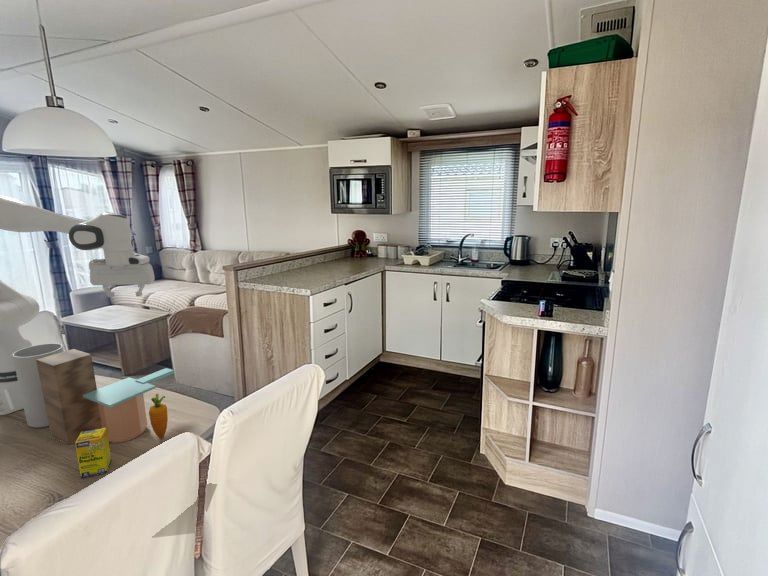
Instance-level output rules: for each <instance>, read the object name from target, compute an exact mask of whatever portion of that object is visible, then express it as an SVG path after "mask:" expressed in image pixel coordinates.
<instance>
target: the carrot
mask: <svg viewBox="0 0 768 576" xmlns="http://www.w3.org/2000/svg"><path fill="white" fill-rule="evenodd" d="M159 398H160V399H159ZM165 398H166V395H163V396H162V397H159V393H156V394H155V396H154V397H152V398H151V401H152V402H153V404H154V405H152V406H151V407H150V408H149V410H148V415H149V420H150V421H149V422H150V425H151V428H152V430H153V433H155V435H156V437H158V438H159V439H161V440H163V439H164V438H165V435H166V432H167V427H168V419H169V418H168V416H169V415H168V407H167V405H166V404H164V403H162V400H164V399H165Z"/></svg>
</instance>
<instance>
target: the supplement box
mask: <svg viewBox="0 0 768 576" xmlns="http://www.w3.org/2000/svg"><path fill="white" fill-rule="evenodd" d="M74 445H75V452H76V457H77V462H78V468H79V474H80V479H85V478H90V477H93V476H94V475H95V476H98V475H97V474H99V475H102V474H101V473H105V474H107V473H108V471H109V469H110V466H109V465H111V464H112V463H111V462H112V456H111V449H110V442H109V441H108V435H107V428H106V427H105V428H101V429H96V430H90V431H83V432H81V433H80V435H79V437H78V439H77V440H76V442H74ZM108 468H109V469H108ZM107 470H108V471H107Z"/></svg>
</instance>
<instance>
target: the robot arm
mask: <svg viewBox="0 0 768 576" xmlns="http://www.w3.org/2000/svg"><path fill="white" fill-rule="evenodd" d="M0 230H3V231H8V232H15V233H35V232H57V233H58V232H59V233H63V234H67V235H68V239H69V242H70V244H71V245H72V246H73V247H74V248H76V249H77V250H80V251H94V250H100V249H102V251H103V254H104V258H101V259H98V258H93V259H92V260H90V261H88V262H89V263H88V269H89V281H90V284H91V285H92V286H102V289H103V291H105V292H106V294H107V298H114V297H115V291H112V290H111V289H110V287H111V286H121V285H125V286H126V285H127V286H128V285H129V286H130V285H131V286H132V285H137V287H138V289H137V290H136V291H135V297H142V296H143V290H144V289H145V285H151V284H152V283H154V281H155V272H154V269H153V266H152V264H151V263H150V257H149V256H148V255H143V254H141V253H137V252H135V251H134V247H133V245H132V238H133V236H132V230H131V226H130V222H129V220H128V218H127V216H126V215H124V214H121V213H116V212H110V211H109V212H105V211H104V212H101V213H100V214H99V215H98V216H96V217H94V218H91V219H90V220H85V219H81V218H76V217H73V216H68V215H65V214H62V213H57V212H54V211H52V210H50V209H49V210H48V209H45V208H43V207H39V206H37V205H33V204H31V203H28V202H25V201H22V200H19V199H17V198H13V197H10V196H6V195H2V194H0ZM39 312H40V305H39V302H38V301H37V300H36V299H35V298H34V297H32V296H29V295H26V294H23V293H20V292H18V291H17V290H16V289H13V288H12V287H11V286H10V285H8V284H6V283H5V282H4V281H2V280H1V279H0V416H6V415H8V414H11V413H14V412H17V411H21V410H24V407H23V402H22V397H21V392H20V388H19V383H18V378H17V374H16V369H15V364H14V360H13V353H14V352H16V351H18V350H21V349H23V348H27V347H31V346H33V343H32V342H31V341H30V340H28V339H26V338H24V337H23V336H22V334H21V332H20V329H19V327H22V326H23V325H26V324H28V323H30V322H31V321H32V320H33V319H35V318H36V316H38V315H39Z"/></svg>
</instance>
